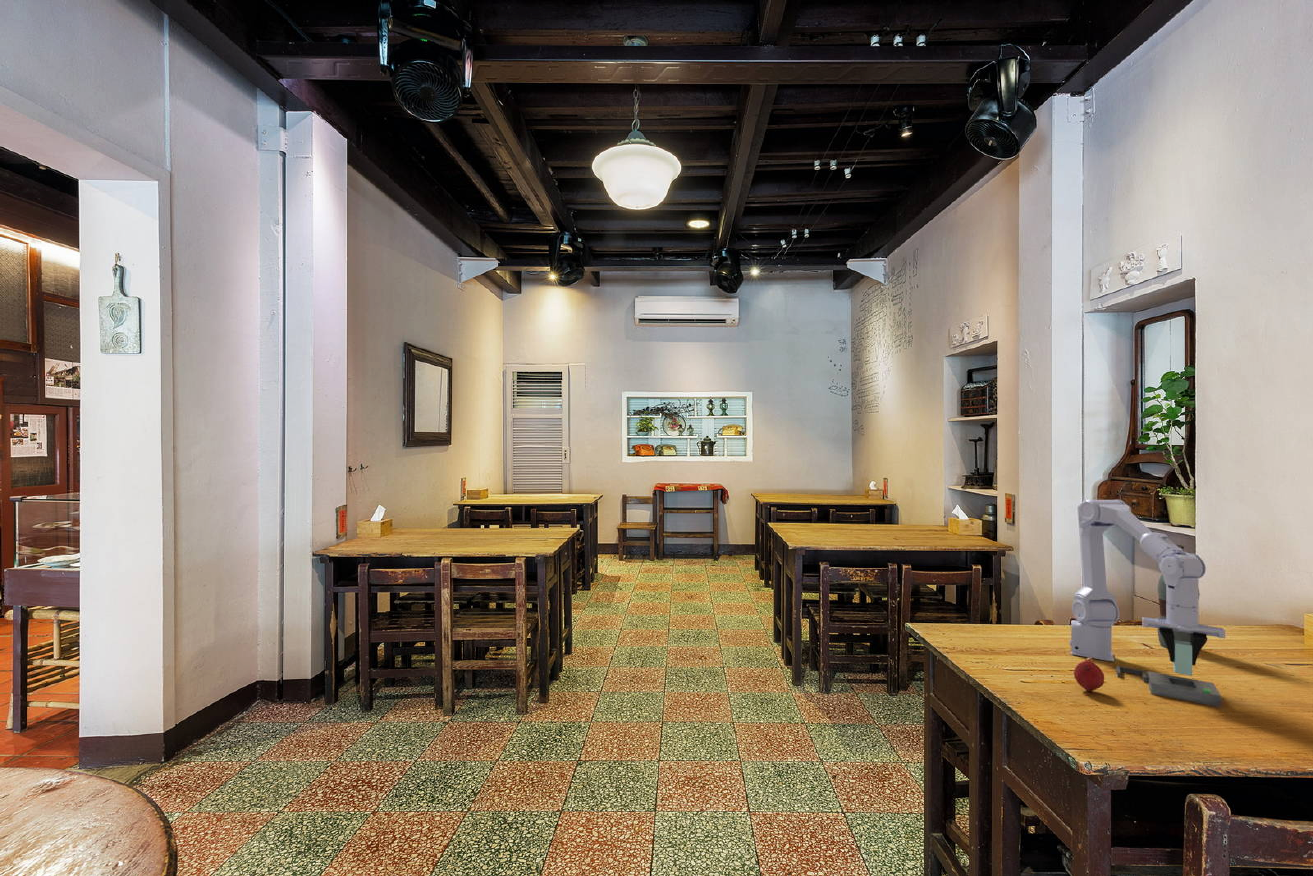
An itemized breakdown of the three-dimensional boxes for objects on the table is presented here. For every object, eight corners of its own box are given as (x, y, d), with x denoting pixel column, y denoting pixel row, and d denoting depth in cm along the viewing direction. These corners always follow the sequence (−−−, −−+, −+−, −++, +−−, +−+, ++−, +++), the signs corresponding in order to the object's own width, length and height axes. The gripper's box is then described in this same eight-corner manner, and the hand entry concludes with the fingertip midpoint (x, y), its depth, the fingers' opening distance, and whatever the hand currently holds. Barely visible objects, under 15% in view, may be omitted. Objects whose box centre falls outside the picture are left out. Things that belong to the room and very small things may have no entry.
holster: (1117, 677, 148) (1117, 672, 148) (1116, 670, 153) (1116, 665, 153) (1146, 682, 145) (1146, 677, 145) (1144, 675, 149) (1144, 670, 149)
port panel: (1151, 693, 138) (1151, 680, 138) (1147, 681, 145) (1147, 669, 145) (1221, 707, 131) (1220, 693, 131) (1213, 694, 138) (1213, 680, 138)
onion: (1096, 698, 135) (1096, 664, 135) (1068, 689, 140) (1068, 655, 140) (1109, 694, 138) (1109, 660, 138) (1082, 685, 143) (1082, 652, 143)
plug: (1175, 673, 138) (1175, 643, 138) (1173, 669, 140) (1173, 639, 140) (1192, 676, 136) (1192, 645, 136) (1190, 671, 138) (1190, 642, 138)
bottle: (1183, 654, 165) (1183, 548, 166) (1149, 643, 174) (1149, 543, 175) (1208, 652, 167) (1208, 547, 168) (1173, 641, 176) (1173, 542, 177)
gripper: (1144, 603, 139) (1144, 660, 139) (1228, 614, 131) (1228, 674, 131) (1141, 597, 145) (1141, 652, 145) (1221, 607, 137) (1221, 665, 136)
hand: (1182, 662), depth 138 cm, fingers closed on plug, 3 cm apart
